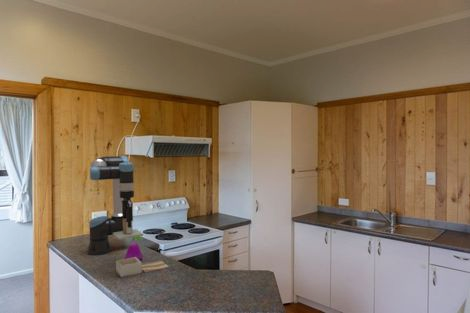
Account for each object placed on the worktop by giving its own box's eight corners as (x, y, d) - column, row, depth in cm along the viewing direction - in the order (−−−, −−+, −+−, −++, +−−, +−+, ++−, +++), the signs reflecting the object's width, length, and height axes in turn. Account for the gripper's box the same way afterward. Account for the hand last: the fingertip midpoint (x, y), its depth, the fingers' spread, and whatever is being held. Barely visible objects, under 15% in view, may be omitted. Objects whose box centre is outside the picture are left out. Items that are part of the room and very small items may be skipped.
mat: (137, 266, 187) (137, 264, 187) (160, 261, 195) (160, 260, 195) (145, 273, 175) (145, 272, 175) (169, 267, 183) (169, 266, 183)
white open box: (116, 271, 179) (115, 260, 179) (135, 267, 185) (135, 256, 185) (121, 277, 170) (120, 266, 170) (141, 272, 176) (141, 262, 176)
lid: (113, 234, 179) (112, 218, 179) (136, 231, 186) (135, 215, 186) (118, 239, 168) (118, 222, 168) (143, 235, 175) (142, 219, 175)
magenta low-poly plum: (137, 263, 191) (136, 238, 191) (120, 262, 193) (120, 238, 193) (146, 257, 202) (145, 234, 202) (130, 257, 204) (129, 233, 204)
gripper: (115, 189, 182) (116, 230, 183) (124, 192, 167) (125, 236, 168) (129, 188, 187) (130, 228, 187) (138, 191, 171) (139, 234, 172)
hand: (127, 232), depth 177 cm, fingers closed on lid, 5 cm apart
